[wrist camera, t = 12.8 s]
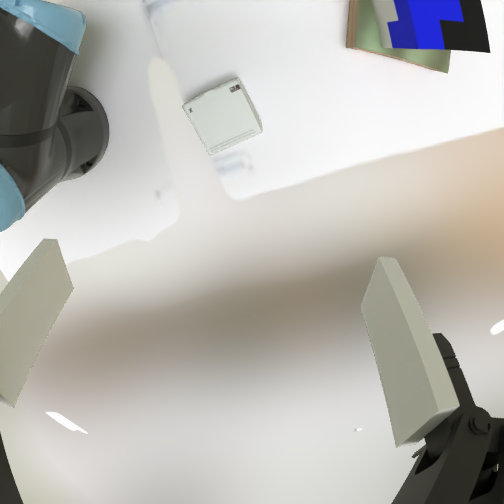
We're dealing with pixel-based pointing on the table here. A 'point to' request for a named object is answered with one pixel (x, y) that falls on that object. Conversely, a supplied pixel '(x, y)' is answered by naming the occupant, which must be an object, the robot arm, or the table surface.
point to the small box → (223, 116)
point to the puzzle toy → (432, 24)
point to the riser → (368, 39)
